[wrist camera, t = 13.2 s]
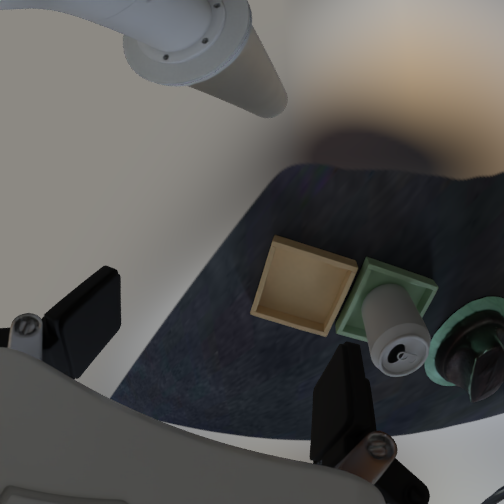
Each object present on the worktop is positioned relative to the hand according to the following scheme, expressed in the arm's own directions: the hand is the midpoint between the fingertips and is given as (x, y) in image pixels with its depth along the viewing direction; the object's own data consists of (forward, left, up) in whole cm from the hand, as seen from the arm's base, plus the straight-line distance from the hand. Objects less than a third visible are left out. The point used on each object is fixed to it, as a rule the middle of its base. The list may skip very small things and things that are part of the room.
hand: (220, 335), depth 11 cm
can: (+10, +19, -27) cm, 34 cm away
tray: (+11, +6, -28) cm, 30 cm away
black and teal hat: (+13, +40, -28) cm, 50 cm away
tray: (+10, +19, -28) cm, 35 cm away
